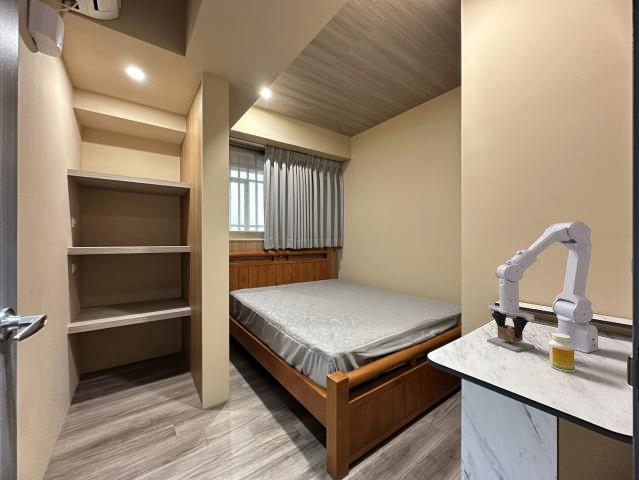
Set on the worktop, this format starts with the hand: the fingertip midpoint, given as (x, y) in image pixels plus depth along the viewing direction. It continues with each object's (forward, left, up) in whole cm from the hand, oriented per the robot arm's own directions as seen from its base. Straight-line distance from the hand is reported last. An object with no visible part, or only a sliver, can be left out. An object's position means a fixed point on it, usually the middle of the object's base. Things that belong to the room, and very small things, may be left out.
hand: (509, 335), depth 92 cm
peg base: (0, 0, -3) cm, 3 cm away
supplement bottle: (-17, +4, -4) cm, 18 cm away
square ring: (0, 0, -1) cm, 1 cm away
